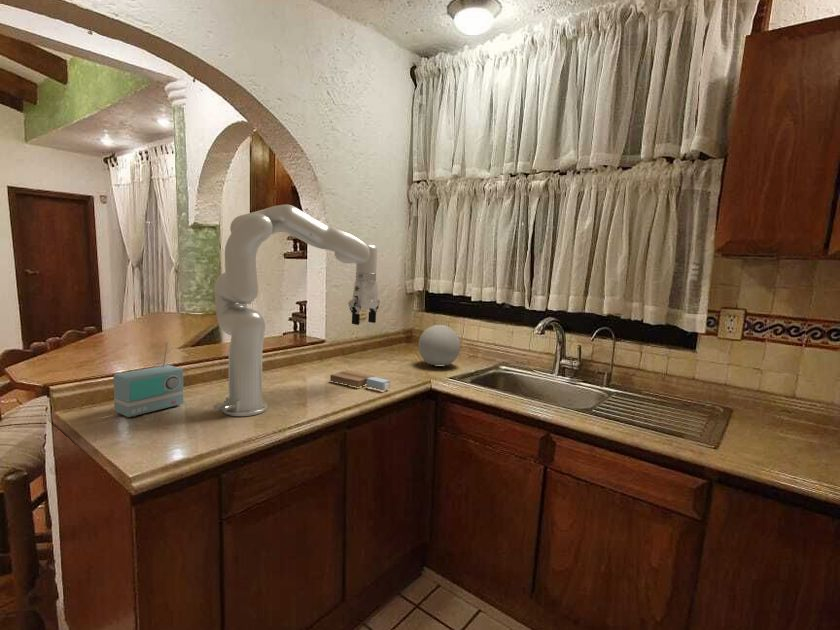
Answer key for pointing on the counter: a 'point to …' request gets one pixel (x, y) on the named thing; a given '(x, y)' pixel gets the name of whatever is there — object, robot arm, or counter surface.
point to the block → (378, 383)
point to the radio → (148, 389)
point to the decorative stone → (439, 345)
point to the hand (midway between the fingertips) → (363, 323)
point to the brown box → (350, 378)
